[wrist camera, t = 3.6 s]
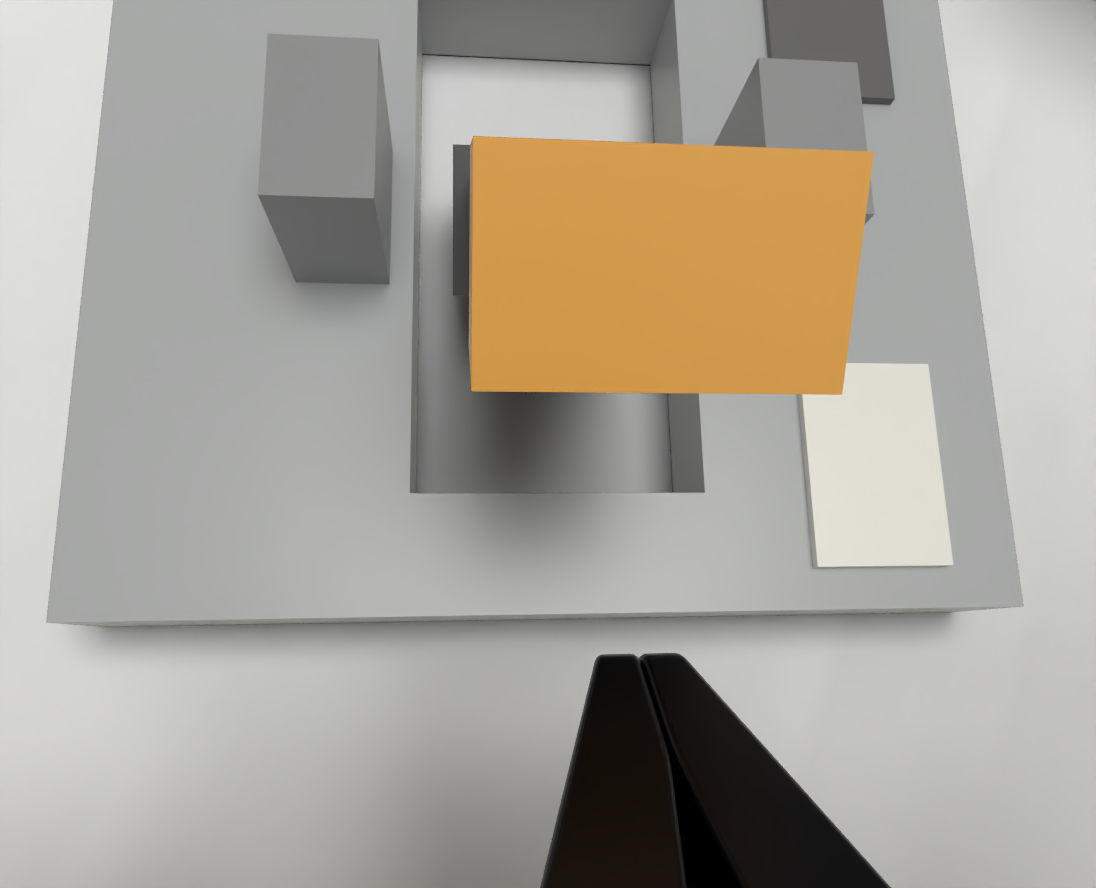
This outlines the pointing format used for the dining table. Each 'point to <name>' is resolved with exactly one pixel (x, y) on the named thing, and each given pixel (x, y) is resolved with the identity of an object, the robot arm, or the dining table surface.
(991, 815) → the dining table surface
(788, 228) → the lever
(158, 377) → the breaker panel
